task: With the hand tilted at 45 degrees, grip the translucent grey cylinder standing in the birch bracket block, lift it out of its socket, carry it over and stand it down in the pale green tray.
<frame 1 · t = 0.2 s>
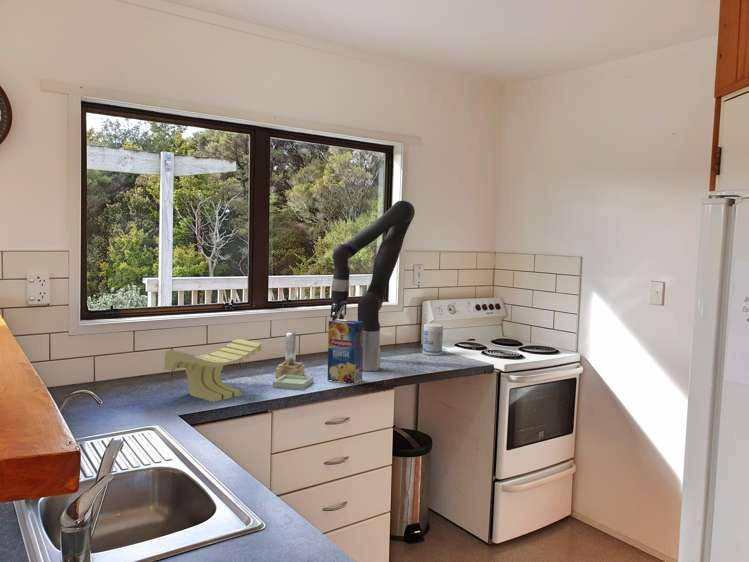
hand: (337, 326, 270), 18 cm above the countertop, tool pointing down, fingers open, 8 cm apart
supplement tub: (432, 354, 305), on the countertop
translucent grey cylinder: (290, 366, 251), point 4 cm above the countertop, touching bracket block
bracket block: (290, 376, 252), on the countertop
juice carton: (344, 381, 247), on the countertop
slatted curved stool: (214, 394, 222), on the countertop
tray: (293, 384, 239), on the countertop
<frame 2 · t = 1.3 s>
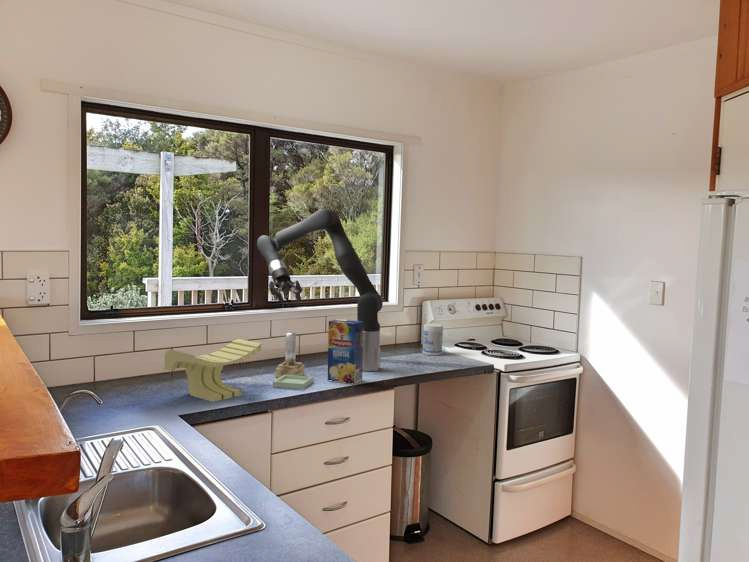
hand: (290, 301, 265), 29 cm above the countertop, tool tilted 45°, fingers open, 8 cm apart
nothing on the countertop moved.
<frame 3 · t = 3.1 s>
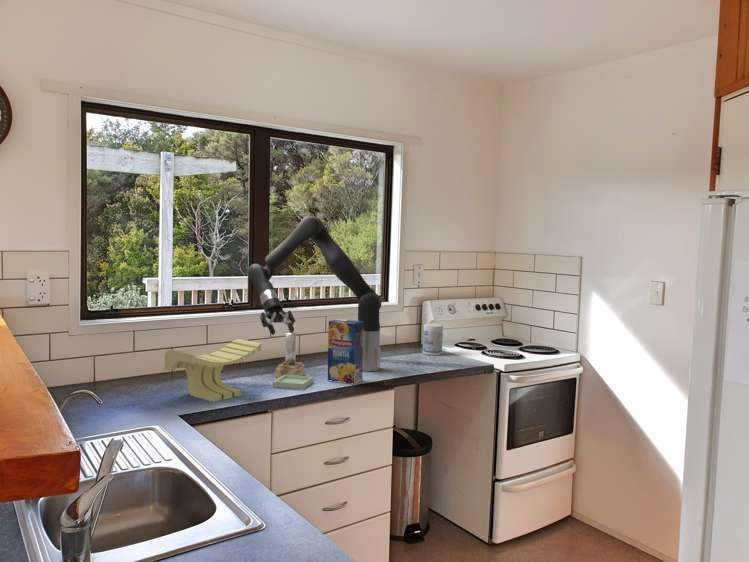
hand: (283, 332, 256), 17 cm above the countertop, tool tilted 45°, fingers open, 8 cm apart
nothing on the countertop moved.
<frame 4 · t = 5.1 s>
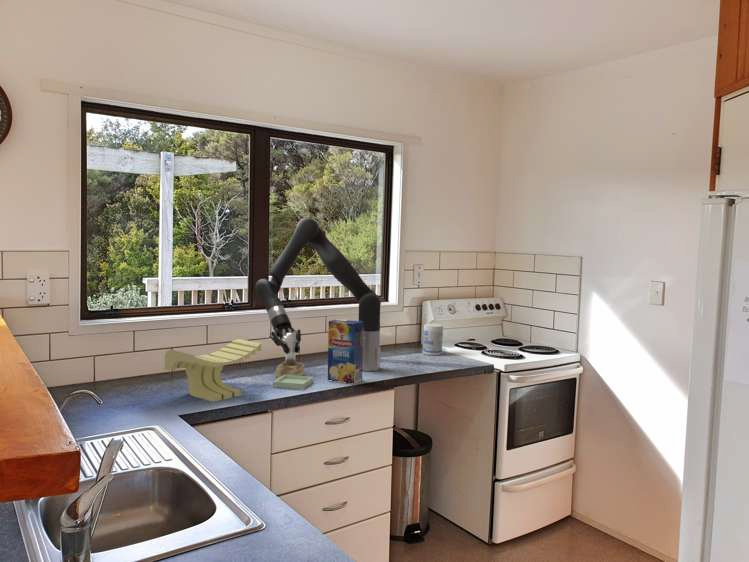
hand: (292, 352, 249), 10 cm above the countertop, tool tilted 45°, fingers closed on translucent grey cylinder, 4 cm apart
translucent grey cylinder: (290, 366, 251), point 4 cm above the countertop, touching bracket block, gripper
everything else where it was.
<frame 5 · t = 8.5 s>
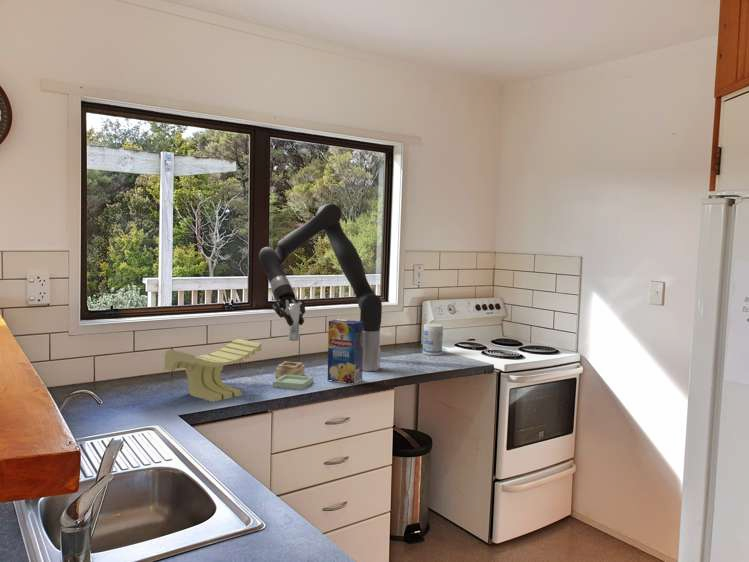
hand: (296, 324, 235), 24 cm above the countertop, tool tilted 45°, fingers closed on translucent grey cylinder, 4 cm apart
translucent grey cylinder: (293, 339, 237), point 18 cm above the countertop, touching gripper
everything else where it was.
when the fingers open (9 cm above the countertop, at t = 11.5 s): translucent grey cylinder drops 1 cm, resting on tray.
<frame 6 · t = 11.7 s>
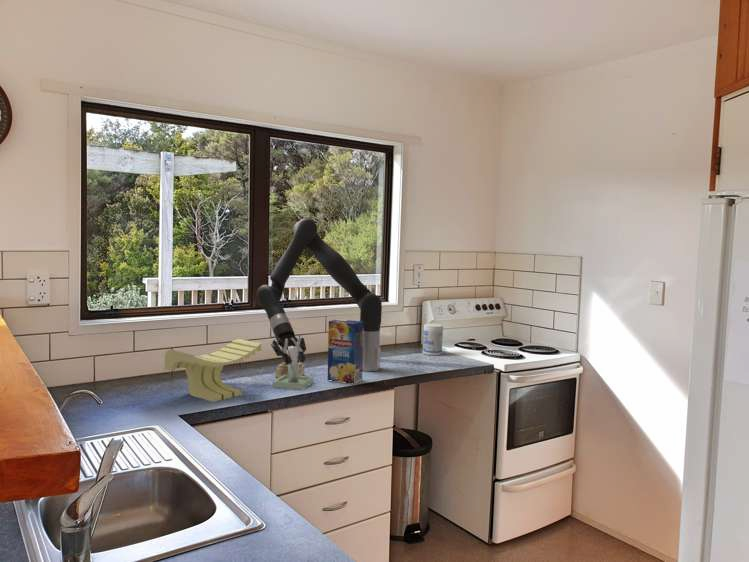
hand: (296, 362, 236), 9 cm above the countertop, tool tilted 45°, fingers open, 5 cm apart
translucent grey cylinder: (293, 381, 239), point 1 cm above the countertop, touching tray
everything else where it was.
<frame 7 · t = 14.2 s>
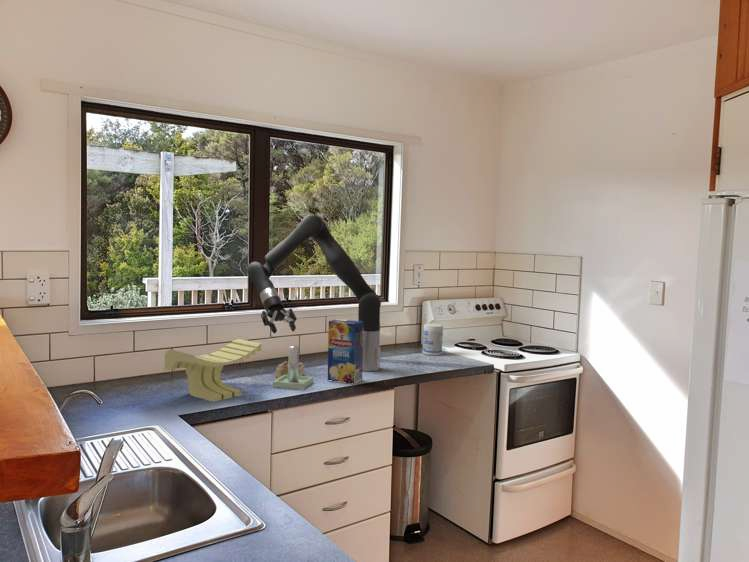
hand: (284, 331, 252), 18 cm above the countertop, tool tilted 45°, fingers open, 8 cm apart
nothing on the countertop moved.
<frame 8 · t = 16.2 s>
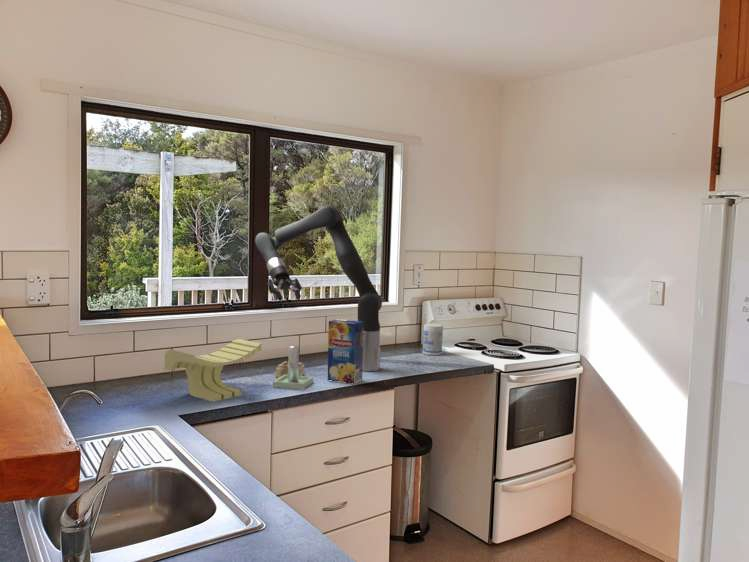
hand: (290, 299, 259), 31 cm above the countertop, tool tilted 45°, fingers open, 8 cm apart
nothing on the countertop moved.
at the end: translucent grey cylinder inside the target area on the tray (0.1 cm from its centre), point 1.0 cm above the tray's base; translucent grey cylinder tilted 1°; the gripper is holding nothing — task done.
